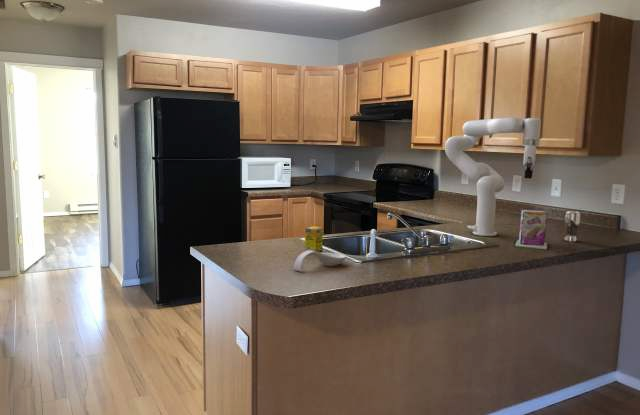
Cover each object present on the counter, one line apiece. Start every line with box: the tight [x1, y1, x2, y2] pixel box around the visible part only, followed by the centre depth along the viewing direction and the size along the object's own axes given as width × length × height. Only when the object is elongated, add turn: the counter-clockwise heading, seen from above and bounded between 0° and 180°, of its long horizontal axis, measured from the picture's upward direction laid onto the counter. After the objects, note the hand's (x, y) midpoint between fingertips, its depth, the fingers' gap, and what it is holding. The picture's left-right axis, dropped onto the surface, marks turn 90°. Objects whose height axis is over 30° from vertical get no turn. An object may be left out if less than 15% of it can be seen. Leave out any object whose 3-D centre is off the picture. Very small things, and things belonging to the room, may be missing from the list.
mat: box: [514, 239, 548, 250], centre depth 251 cm, size 14×14×1 cm
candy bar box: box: [518, 209, 548, 245], centre depth 249 cm, size 11×5×16 cm, turn 78°
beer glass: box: [563, 210, 581, 243], centre depth 262 cm, size 7×7×15 cm
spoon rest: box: [293, 250, 347, 273], centre depth 202 cm, size 24×12×7 cm, turn 133°
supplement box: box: [304, 225, 324, 253], centre depth 227 cm, size 6×6×11 cm
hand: (528, 177), depth 257 cm, fingers open, 9 cm apart
